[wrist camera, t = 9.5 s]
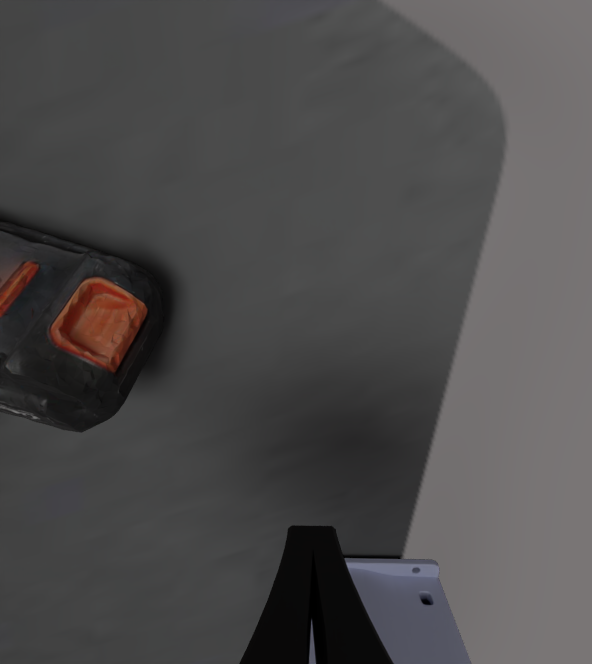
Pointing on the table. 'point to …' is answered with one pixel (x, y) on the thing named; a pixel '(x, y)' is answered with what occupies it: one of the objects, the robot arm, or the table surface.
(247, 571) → the table surface
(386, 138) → the table surface
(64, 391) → the battery
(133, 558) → the table surface
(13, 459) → the table surface
